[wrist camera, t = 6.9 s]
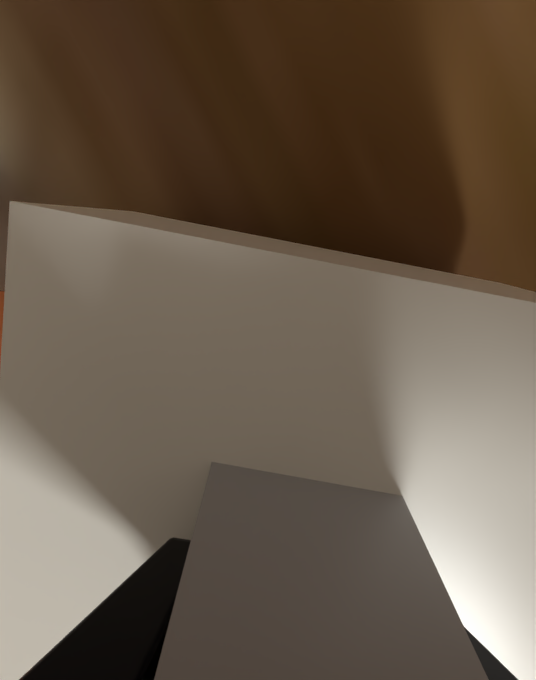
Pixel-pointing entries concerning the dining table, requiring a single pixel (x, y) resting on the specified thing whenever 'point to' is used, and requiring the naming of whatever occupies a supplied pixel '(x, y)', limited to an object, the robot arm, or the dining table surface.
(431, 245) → the dining table surface
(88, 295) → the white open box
